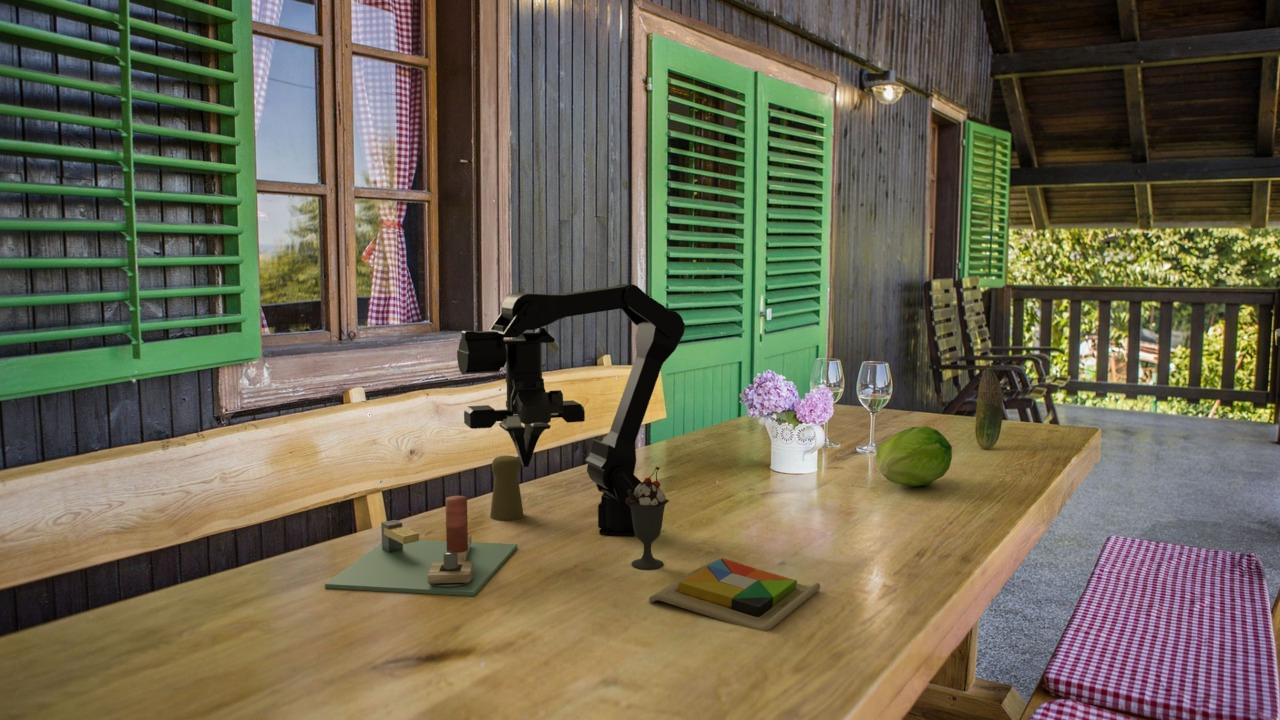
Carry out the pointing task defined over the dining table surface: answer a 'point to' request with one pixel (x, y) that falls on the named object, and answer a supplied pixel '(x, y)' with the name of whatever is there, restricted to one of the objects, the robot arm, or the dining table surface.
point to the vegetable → (988, 410)
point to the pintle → (451, 569)
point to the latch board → (419, 568)
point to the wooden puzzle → (737, 594)
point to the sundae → (647, 518)
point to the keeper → (396, 536)
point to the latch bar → (455, 544)
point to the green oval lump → (914, 456)
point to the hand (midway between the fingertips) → (525, 466)
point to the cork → (506, 489)
